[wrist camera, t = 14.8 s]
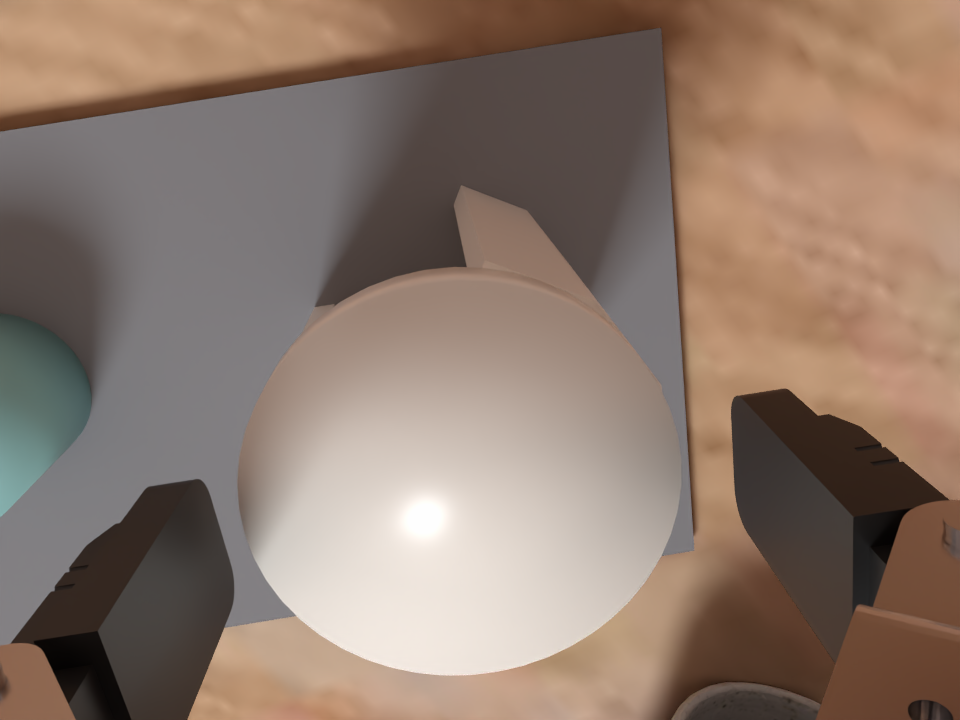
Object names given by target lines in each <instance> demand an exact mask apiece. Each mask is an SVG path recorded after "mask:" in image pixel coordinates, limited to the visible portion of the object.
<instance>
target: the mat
mask: <svg viewBox="0 0 960 720" xmlns="http://www.w3.org/2000/svg"><path fill="white" fill-rule="evenodd" d="M461 185H462V186H465V187H467V188H470V189H472V190H475V191H478V192H480V193H483V194H485V195H488V196H491V197H493V198H496V199H498V200H501V201H504V202H506V203H509V204H512V205H514V206H517V207H519V208H522V209H525V210H527V211H528V212H529V214H530V215H531V216H532V217H533V219H534V220H535V221H536V222H537V224H538V225H539V226H540V228H541V229H542V230H543V231H544V233H545V234H546V235H547V236H548V238H549V239H550V240H551V242H552V243H553V244H554V245H555V247H556V248H557V249H558V251H559V252H560V253H561V254H562V256H563V257H564V258H565V259H566V261H567V262H568V263H569V265H570V266H571V267H572V269H573V270H574V271H575V272H576V274H577V275H578V276H579V278H580V279H581V280H582V282H583V283H584V284H585V286H586V287H587V288H588V289H589V291H590V292H591V293H592V295H593V296H594V297H595V299H596V300H597V301H598V303H599V304H600V305H601V306H602V308H603V309H604V310H605V312H606V313H607V314H608V316H609V317H610V318H611V320H612V321H613V322H614V323H615V325H616V326H617V327H618V329H619V330H620V331H621V333H622V334H623V335H624V337H625V338H626V339H627V341H628V342H629V343H630V344H631V346H632V347H633V348H634V350H635V351H636V352H637V354H638V355H639V356H640V358H641V359H642V360H643V361H644V363H645V364H646V365H647V367H648V368H649V369H650V371H651V372H652V373H653V375H654V376H655V377H656V378H657V380H658V381H659V382H660V384H661V385H662V394H663V396H664V398H665V400H666V402H667V404H668V406H669V408H670V411H671V414H672V418H673V421H674V424H675V427H676V431H677V434H678V440H679V447H680V454H681V492H680V499H679V506H678V511H677V515H676V518H675V522H674V525H673V529H672V532H671V535H670V537H669V540H668V542H667V544H666V546H665V549H664V551H663V553H662V555H661V556H664V555H670V554H677V553H683V552H689V551H694V539H693V523H692V507H691V492H690V476H689V460H688V444H687V428H686V413H685V397H684V381H683V365H682V349H681V334H680V318H679V302H678V286H677V270H676V255H675V239H674V223H673V207H672V191H671V176H670V160H669V144H668V128H667V112H666V97H665V81H664V65H663V49H662V33H661V28H656V29H650V30H643V31H637V32H631V33H624V34H618V35H612V36H605V37H599V38H592V39H586V40H580V41H573V42H567V43H561V44H554V45H548V46H542V47H535V48H529V49H523V50H516V51H510V52H504V53H497V54H491V55H484V56H478V57H472V58H465V59H459V60H453V61H446V62H440V63H434V64H427V65H421V66H415V67H408V68H402V69H396V70H389V71H383V72H376V73H370V74H364V75H357V76H351V77H345V78H338V79H332V80H326V81H319V82H313V83H307V84H300V85H294V86H287V87H281V88H275V89H268V90H262V91H256V92H249V93H243V94H237V95H230V96H224V97H218V98H211V99H205V100H199V101H192V102H186V103H179V104H173V105H167V106H160V107H154V108H148V109H141V110H135V111H129V112H122V113H116V114H110V115H103V116H97V117H91V118H84V119H78V120H71V121H65V122H59V123H52V124H46V125H40V126H33V127H27V128H21V129H14V130H8V131H2V132H0V313H2V314H9V315H14V316H18V317H22V318H25V319H28V320H30V321H33V322H36V323H37V324H39V325H41V326H43V327H45V328H47V329H48V330H50V331H51V332H53V333H54V334H56V335H57V336H58V337H59V338H60V339H62V340H63V341H64V342H65V343H66V344H67V345H68V346H69V347H70V348H71V349H72V351H73V352H74V353H75V355H76V356H77V357H78V359H79V360H80V362H81V364H82V366H83V367H84V370H85V372H86V374H87V377H88V380H89V384H90V388H91V396H92V398H91V411H90V416H89V419H88V421H87V424H86V426H85V428H84V430H83V432H82V433H81V434H80V436H79V437H78V438H77V439H76V440H75V441H74V443H73V444H72V445H71V446H70V447H69V448H68V449H67V450H66V451H65V452H64V453H63V454H62V455H61V456H60V457H59V458H58V459H57V460H56V461H55V462H54V463H53V464H52V465H51V466H50V467H49V468H48V469H47V470H46V471H45V472H44V474H43V475H42V476H41V477H40V478H39V479H38V480H37V481H36V482H35V483H34V484H33V485H32V486H31V487H30V488H29V489H28V490H27V491H26V492H25V493H24V494H23V495H22V496H21V497H20V498H19V499H18V500H17V501H16V502H15V503H14V504H13V506H12V507H11V508H10V509H9V510H8V511H7V512H6V513H4V514H3V515H2V516H1V517H0V646H1V645H7V644H10V643H11V642H12V641H13V639H14V638H15V637H16V636H17V634H18V633H19V632H20V630H21V629H22V628H23V627H24V625H25V624H26V623H27V621H28V620H29V619H30V617H31V616H32V615H33V614H34V612H35V611H36V610H37V608H38V607H39V606H40V605H41V603H42V602H43V601H44V599H45V598H46V597H47V596H48V594H49V593H50V592H52V591H55V588H54V587H55V585H56V584H57V583H58V581H59V580H60V579H61V577H62V576H63V575H64V574H65V572H69V567H70V566H71V565H72V563H73V562H74V561H75V559H76V558H77V557H78V556H79V554H80V553H81V552H82V550H83V549H84V548H85V546H86V545H88V544H89V543H90V542H92V541H93V540H94V539H96V538H97V537H98V536H100V535H101V534H102V533H104V532H105V531H106V530H108V529H109V528H110V527H112V526H113V525H114V524H117V523H120V522H121V521H122V520H123V518H124V517H125V516H126V514H127V513H128V512H129V510H130V509H131V508H132V506H133V505H134V503H135V502H136V501H137V499H138V498H139V497H140V495H141V494H142V493H143V491H144V490H145V489H146V488H147V487H149V486H155V485H161V484H168V483H174V482H181V481H187V480H194V479H200V480H202V481H203V482H204V483H205V485H206V487H207V489H208V491H209V493H210V496H211V500H212V503H213V506H214V510H215V513H216V516H217V519H218V523H219V526H220V529H221V533H222V536H223V539H224V543H225V546H226V549H227V553H228V556H229V559H230V563H231V566H232V570H233V576H234V601H233V606H232V610H231V612H230V615H229V617H228V620H227V622H226V625H225V627H232V626H238V625H244V624H250V623H256V622H262V621H268V620H274V619H280V618H286V617H293V616H296V615H295V614H294V613H293V612H292V611H291V610H290V609H289V608H288V607H287V606H286V605H285V604H284V603H283V602H282V601H281V599H280V598H279V597H278V595H277V594H276V593H275V591H274V590H273V589H272V587H271V586H270V585H269V583H268V582H267V581H266V579H265V577H264V575H263V574H262V572H261V570H260V568H259V566H258V565H257V563H256V561H255V559H254V557H253V555H252V552H251V549H250V547H249V544H248V541H247V539H246V536H245V533H244V529H243V524H242V520H241V515H240V511H239V502H238V487H237V478H238V466H239V455H240V451H241V447H242V442H243V438H244V434H245V430H246V427H247V425H248V422H249V420H250V417H251V415H252V412H253V410H254V407H255V405H256V402H257V401H258V399H259V397H260V395H261V393H262V391H263V389H264V387H265V385H266V383H267V381H268V380H269V378H270V376H271V375H272V373H273V371H274V369H275V368H276V366H277V364H278V363H279V361H280V359H281V358H282V357H283V355H284V354H285V353H286V352H287V350H288V349H289V348H290V346H291V345H292V344H293V343H294V341H295V340H296V339H297V338H298V337H299V336H300V335H301V334H302V332H303V330H304V328H305V326H306V324H307V322H308V320H309V318H310V315H311V313H312V311H313V309H314V307H319V306H325V305H331V304H335V305H337V304H338V303H339V302H341V301H343V300H344V299H346V298H348V297H350V296H352V295H354V294H356V293H357V292H359V291H361V290H363V289H365V288H367V287H369V286H372V285H375V284H377V283H380V282H383V281H385V280H388V279H390V278H393V277H396V276H400V275H405V274H409V273H413V272H418V271H422V270H428V269H438V268H448V267H467V266H466V261H465V256H464V251H463V247H462V242H461V237H460V233H459V228H458V223H457V218H456V214H455V209H454V203H455V200H456V197H457V195H458V192H459V189H460V186H461ZM225 627H224V628H225Z"/></svg>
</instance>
